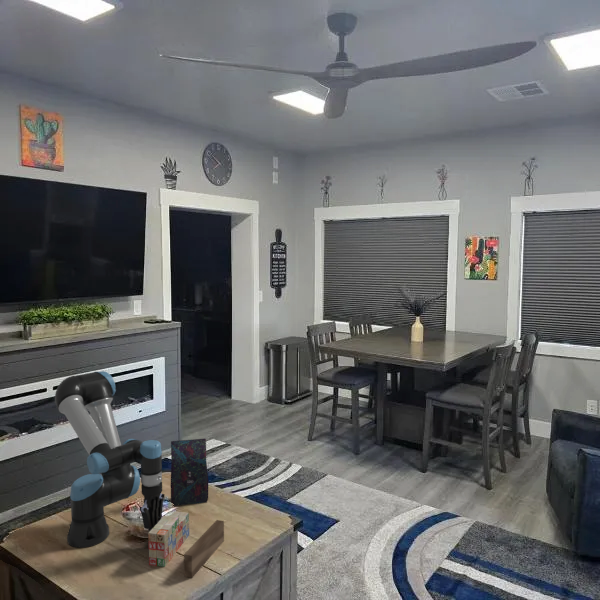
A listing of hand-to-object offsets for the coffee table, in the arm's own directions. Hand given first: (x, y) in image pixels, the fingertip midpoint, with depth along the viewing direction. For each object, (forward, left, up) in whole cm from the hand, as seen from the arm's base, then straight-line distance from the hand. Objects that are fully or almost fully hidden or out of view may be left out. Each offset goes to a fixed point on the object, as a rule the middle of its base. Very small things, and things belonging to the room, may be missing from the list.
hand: (153, 542), depth 192 cm
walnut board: (+22, 0, -2) cm, 22 cm away
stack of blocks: (+7, +1, -2) cm, 7 cm away
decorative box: (-6, +37, -2) cm, 37 cm away
